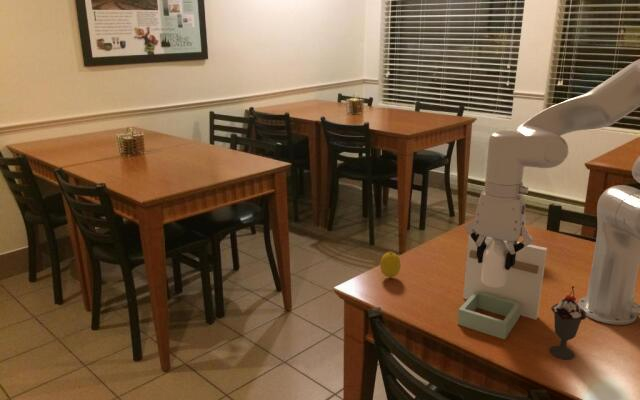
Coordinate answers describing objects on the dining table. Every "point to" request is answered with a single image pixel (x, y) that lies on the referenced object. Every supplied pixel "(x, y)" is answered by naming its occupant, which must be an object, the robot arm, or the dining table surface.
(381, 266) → the lemon
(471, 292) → the wall holder
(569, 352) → the sundae
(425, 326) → the dining table surface
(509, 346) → the dining table surface
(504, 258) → the white bottle
